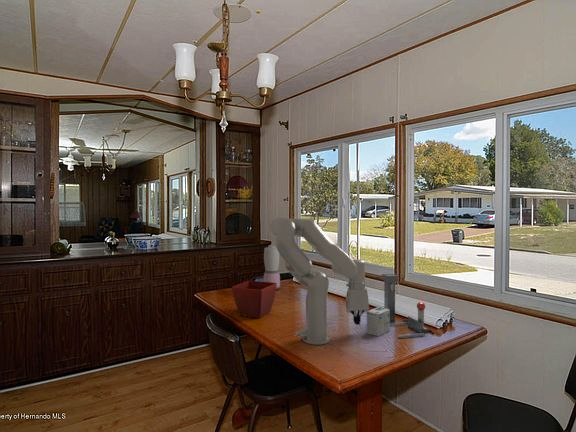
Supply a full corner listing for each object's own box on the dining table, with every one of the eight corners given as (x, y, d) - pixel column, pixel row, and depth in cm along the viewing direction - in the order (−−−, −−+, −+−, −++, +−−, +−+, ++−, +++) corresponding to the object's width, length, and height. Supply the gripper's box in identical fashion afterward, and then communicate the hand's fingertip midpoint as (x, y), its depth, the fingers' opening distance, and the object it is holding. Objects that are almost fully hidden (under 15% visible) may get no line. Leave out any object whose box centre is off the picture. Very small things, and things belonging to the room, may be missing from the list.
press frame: (398, 338, 161) (398, 284, 160) (375, 321, 185) (375, 274, 184) (425, 336, 163) (425, 283, 163) (399, 319, 187) (399, 273, 187)
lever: (420, 331, 169) (420, 303, 169) (414, 327, 174) (414, 301, 174) (427, 330, 170) (427, 303, 170) (421, 327, 175) (421, 300, 175)
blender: (275, 291, 252) (275, 247, 251) (260, 289, 257) (260, 246, 256) (284, 286, 266) (284, 245, 265) (270, 285, 271) (270, 244, 270)
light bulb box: (378, 327, 175) (378, 306, 175) (390, 331, 170) (390, 309, 170) (366, 333, 168) (366, 310, 168) (378, 336, 163) (378, 313, 163)
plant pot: (231, 316, 194) (230, 286, 193) (249, 307, 211) (249, 280, 210) (261, 321, 185) (261, 290, 185) (277, 311, 203) (277, 282, 202)
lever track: (423, 335, 165) (423, 332, 165) (402, 321, 184) (402, 319, 184) (434, 334, 166) (434, 331, 166) (412, 321, 185) (412, 318, 185)
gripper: (344, 288, 161) (344, 327, 162) (375, 286, 164) (375, 325, 165) (339, 284, 169) (339, 322, 169) (368, 283, 172) (368, 320, 172)
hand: (357, 323), depth 167 cm, fingers closed
